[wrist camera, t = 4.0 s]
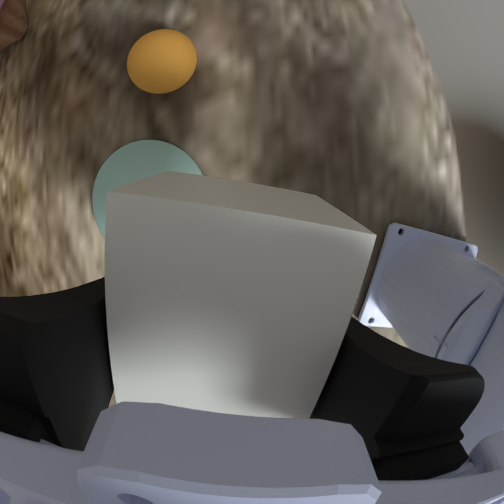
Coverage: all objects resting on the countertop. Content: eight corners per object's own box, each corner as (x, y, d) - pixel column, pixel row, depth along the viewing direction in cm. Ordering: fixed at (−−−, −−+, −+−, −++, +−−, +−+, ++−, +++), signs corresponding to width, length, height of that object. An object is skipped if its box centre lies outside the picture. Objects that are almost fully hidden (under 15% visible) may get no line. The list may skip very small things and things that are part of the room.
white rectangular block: (315, 194, 12) (376, 235, 6) (271, 371, 14) (284, 466, 9) (168, 170, 11) (106, 191, 6) (155, 355, 14) (125, 447, 8)
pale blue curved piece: (218, 148, 18) (218, 147, 18) (199, 269, 20) (199, 270, 20) (100, 135, 17) (98, 135, 17) (91, 250, 19) (90, 251, 19)
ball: (207, 44, 15) (198, 19, 12) (194, 101, 17) (181, 89, 13) (147, 41, 15) (126, 19, 11) (133, 96, 16) (109, 85, 13)
